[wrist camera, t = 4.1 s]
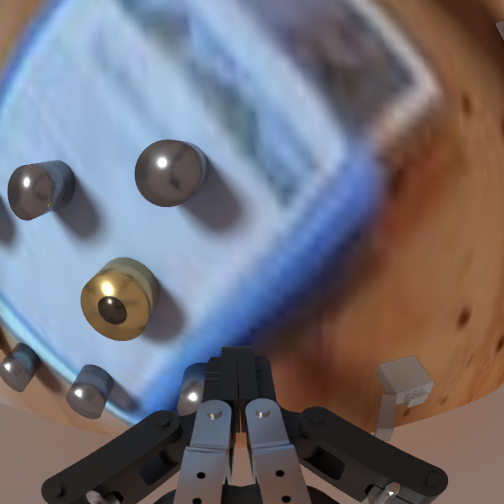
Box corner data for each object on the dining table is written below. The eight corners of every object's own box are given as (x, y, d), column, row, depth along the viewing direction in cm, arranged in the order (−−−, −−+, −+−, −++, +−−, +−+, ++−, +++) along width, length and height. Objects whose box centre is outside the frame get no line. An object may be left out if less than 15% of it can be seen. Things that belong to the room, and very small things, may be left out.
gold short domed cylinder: (153, 255, 21) (139, 276, 17) (163, 316, 22) (153, 342, 19) (94, 258, 20) (72, 276, 17) (107, 314, 22) (91, 339, 19)
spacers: (207, 139, 18) (198, 136, 14) (226, 398, 25) (225, 430, 22) (-30, 184, 17) (-58, 192, 13) (28, 376, 25) (13, 398, 21)
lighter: (414, 354, 25) (452, 408, 18) (411, 367, 26) (446, 420, 18) (350, 370, 25) (379, 434, 17) (348, 382, 26) (375, 446, 18)
